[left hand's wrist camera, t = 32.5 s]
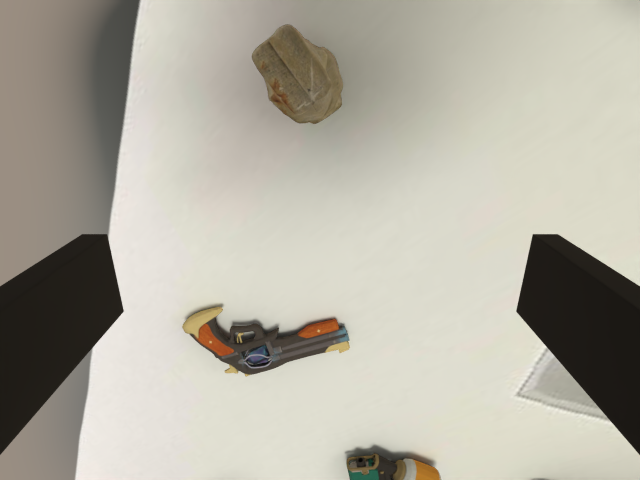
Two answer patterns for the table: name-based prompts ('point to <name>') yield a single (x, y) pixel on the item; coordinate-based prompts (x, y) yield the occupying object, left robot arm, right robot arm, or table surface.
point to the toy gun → (263, 342)
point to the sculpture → (299, 76)
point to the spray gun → (389, 469)
